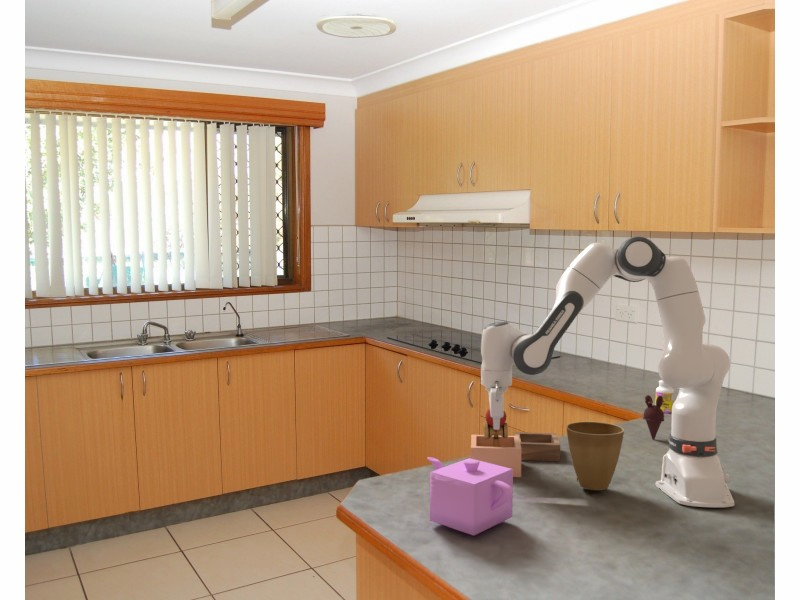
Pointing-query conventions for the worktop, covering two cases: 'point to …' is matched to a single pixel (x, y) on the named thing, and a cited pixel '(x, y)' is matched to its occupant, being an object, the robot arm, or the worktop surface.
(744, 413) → the worktop surface
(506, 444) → the stand
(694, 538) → the worktop surface
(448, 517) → the teapot
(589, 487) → the plant pot
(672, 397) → the supplement bottle
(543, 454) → the block
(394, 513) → the worktop surface
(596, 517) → the worktop surface
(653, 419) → the icecream
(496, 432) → the kendama
